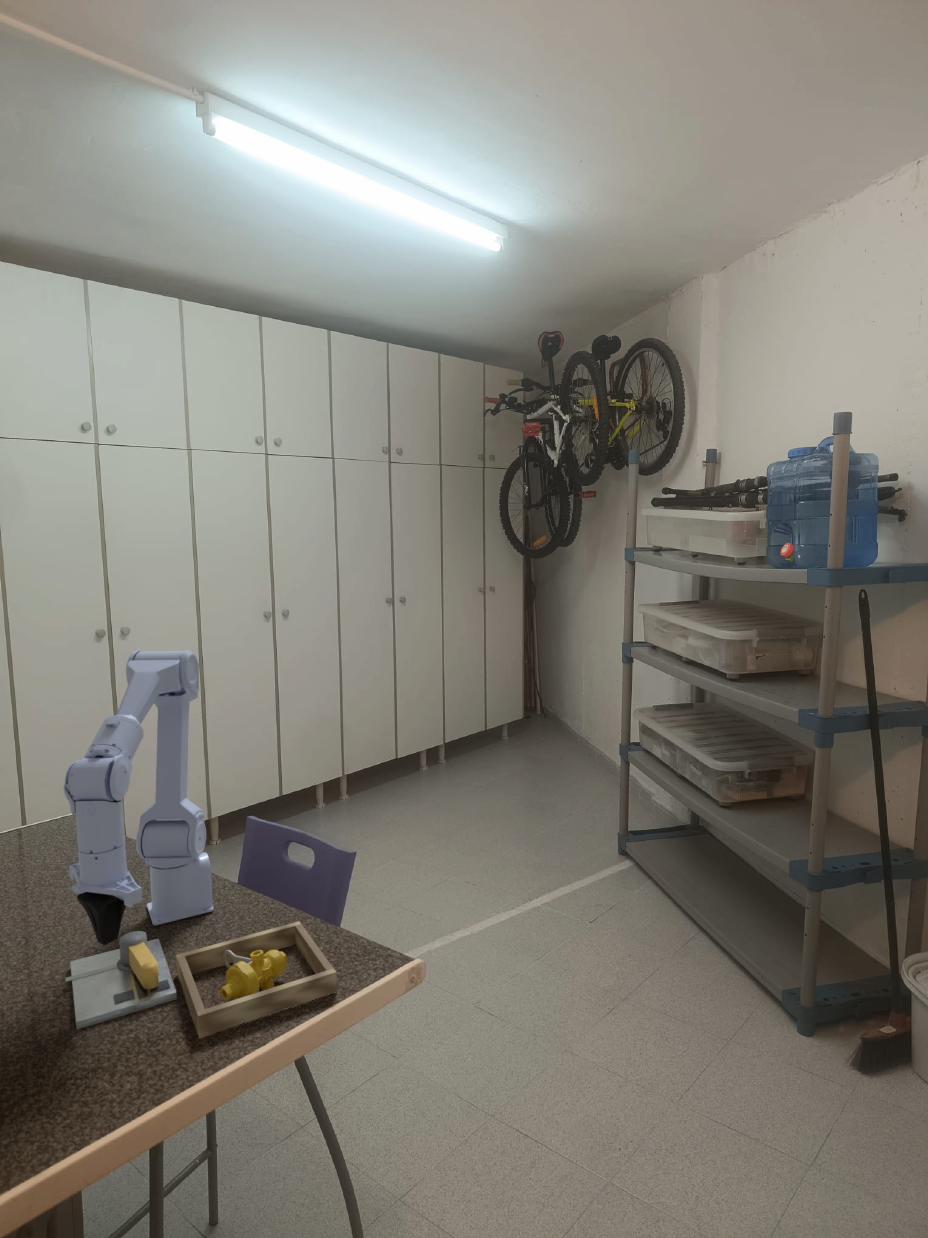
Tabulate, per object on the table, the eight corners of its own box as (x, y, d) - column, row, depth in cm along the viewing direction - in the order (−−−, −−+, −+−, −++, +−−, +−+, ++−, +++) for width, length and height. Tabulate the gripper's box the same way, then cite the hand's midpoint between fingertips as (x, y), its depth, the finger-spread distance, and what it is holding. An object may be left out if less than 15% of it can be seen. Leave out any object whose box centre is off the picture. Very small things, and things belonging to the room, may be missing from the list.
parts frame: (299, 939, 114) (299, 921, 113) (336, 993, 100) (336, 972, 100) (177, 975, 104) (176, 955, 104) (199, 1039, 91) (198, 1016, 90)
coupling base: (159, 944, 113) (158, 937, 112) (176, 999, 99) (176, 991, 99) (64, 969, 106) (63, 962, 106) (69, 1032, 92) (68, 1023, 92)
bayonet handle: (117, 957, 106) (116, 936, 106) (143, 949, 109) (142, 928, 108) (139, 994, 98) (138, 971, 97) (167, 984, 100) (166, 961, 99)
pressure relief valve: (298, 980, 102) (239, 1019, 94) (242, 967, 109) (184, 1002, 101) (291, 941, 102) (233, 976, 94) (237, 931, 109) (177, 963, 101)
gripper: (44, 843, 99) (51, 938, 101) (102, 869, 91) (109, 972, 93) (95, 826, 105) (101, 916, 107) (154, 849, 97) (159, 946, 98)
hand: (108, 940), depth 100 cm, fingers closed
